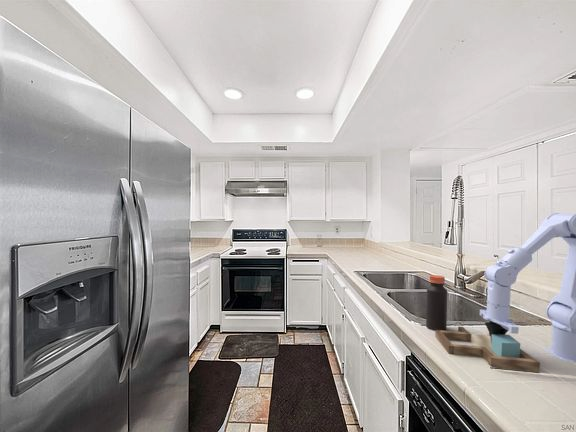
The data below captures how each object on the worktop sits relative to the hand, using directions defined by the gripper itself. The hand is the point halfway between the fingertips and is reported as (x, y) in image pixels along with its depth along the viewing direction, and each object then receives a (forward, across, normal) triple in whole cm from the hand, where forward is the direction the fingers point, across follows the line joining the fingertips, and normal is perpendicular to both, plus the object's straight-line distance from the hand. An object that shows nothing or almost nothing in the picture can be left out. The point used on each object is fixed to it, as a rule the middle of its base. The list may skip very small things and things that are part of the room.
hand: (496, 346), depth 89 cm
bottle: (+2, -17, -10) cm, 20 cm away
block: (+1, +3, +1) cm, 3 cm away
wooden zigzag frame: (+2, -1, -5) cm, 5 cm away
